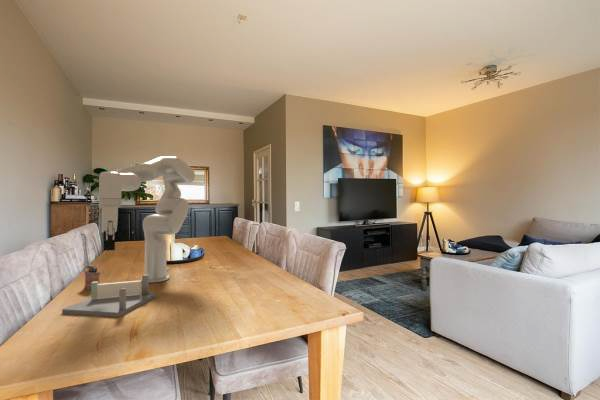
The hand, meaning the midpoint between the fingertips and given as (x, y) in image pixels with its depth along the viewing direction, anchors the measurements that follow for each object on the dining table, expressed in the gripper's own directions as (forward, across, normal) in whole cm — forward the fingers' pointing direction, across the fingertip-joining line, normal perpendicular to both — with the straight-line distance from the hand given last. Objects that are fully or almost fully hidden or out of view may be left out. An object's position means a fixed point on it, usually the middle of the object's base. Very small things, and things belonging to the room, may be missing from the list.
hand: (109, 249), depth 120 cm
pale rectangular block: (+17, +6, +2) cm, 18 cm away
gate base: (+19, +10, +1) cm, 22 cm away
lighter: (+19, -18, -6) cm, 27 cm away
